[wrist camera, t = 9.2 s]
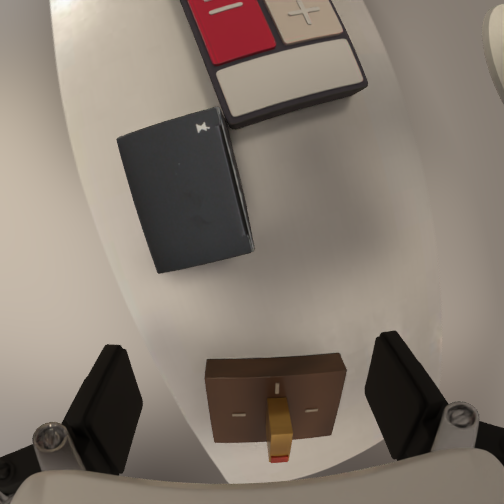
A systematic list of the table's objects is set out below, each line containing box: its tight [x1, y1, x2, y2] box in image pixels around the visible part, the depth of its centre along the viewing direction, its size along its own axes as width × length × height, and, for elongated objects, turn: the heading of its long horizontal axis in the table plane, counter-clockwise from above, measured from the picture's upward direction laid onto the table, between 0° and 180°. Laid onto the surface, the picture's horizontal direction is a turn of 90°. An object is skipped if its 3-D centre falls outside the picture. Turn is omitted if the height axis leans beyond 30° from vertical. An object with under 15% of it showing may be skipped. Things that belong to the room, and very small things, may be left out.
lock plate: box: [205, 353, 347, 443], centre depth 32 cm, size 14×11×3 cm
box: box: [117, 107, 254, 274], centre depth 20 cm, size 8×6×11 cm
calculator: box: [180, 0, 368, 129], centre depth 19 cm, size 11×4×15 cm
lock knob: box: [266, 397, 293, 463], centre depth 28 cm, size 5×2×5 cm, turn 0°
